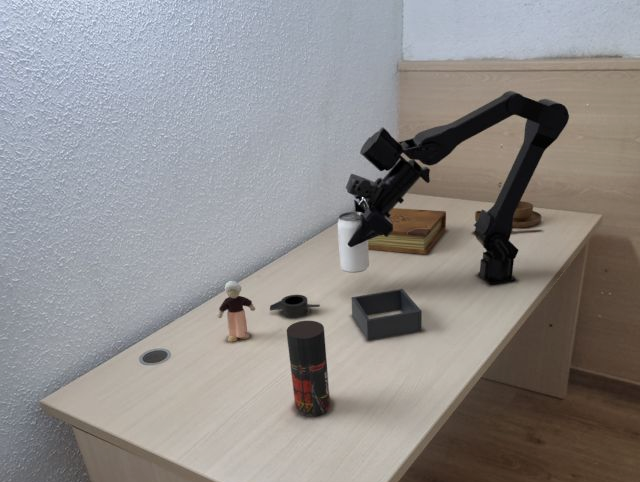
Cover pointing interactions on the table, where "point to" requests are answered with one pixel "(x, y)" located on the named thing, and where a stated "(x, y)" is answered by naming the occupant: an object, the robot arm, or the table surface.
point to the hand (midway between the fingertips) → (347, 240)
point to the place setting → (521, 216)
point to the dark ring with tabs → (293, 306)
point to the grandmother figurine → (235, 311)
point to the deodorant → (309, 367)
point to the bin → (386, 324)
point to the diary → (411, 231)
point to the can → (357, 255)
